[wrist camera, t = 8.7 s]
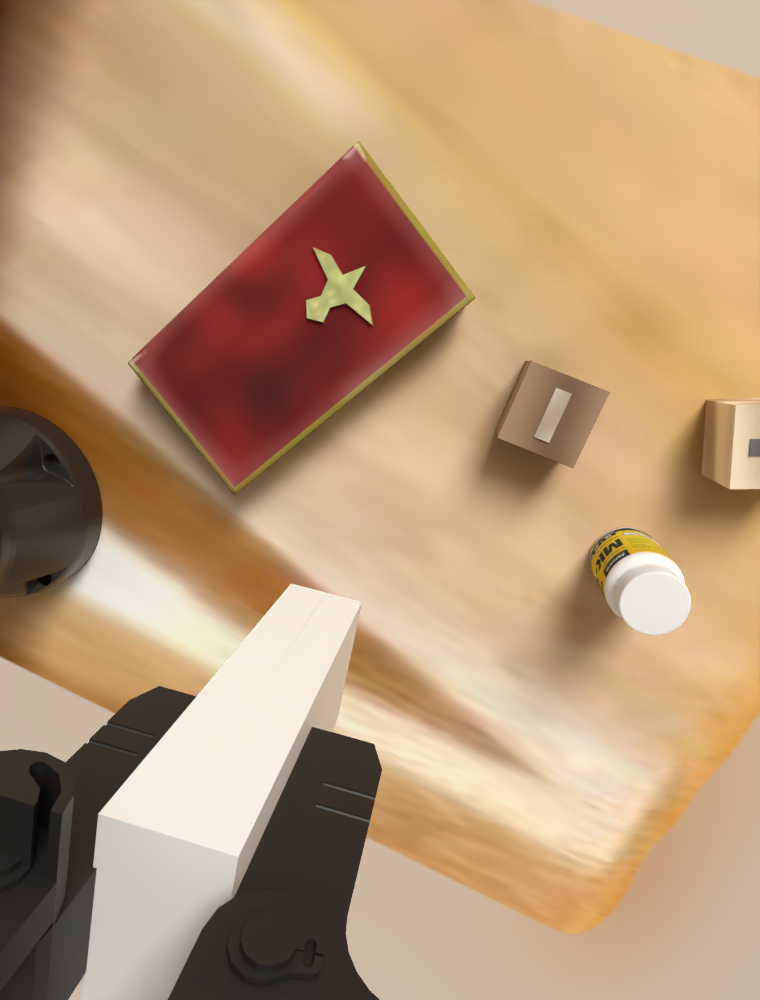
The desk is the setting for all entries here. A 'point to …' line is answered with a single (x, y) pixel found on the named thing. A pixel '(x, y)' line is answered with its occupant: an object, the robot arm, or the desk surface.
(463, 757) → the desk surface
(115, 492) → the desk surface
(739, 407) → the beech block
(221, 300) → the hardcover book
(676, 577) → the supplement bottle
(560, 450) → the walnut block
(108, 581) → the desk surface
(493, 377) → the desk surface
